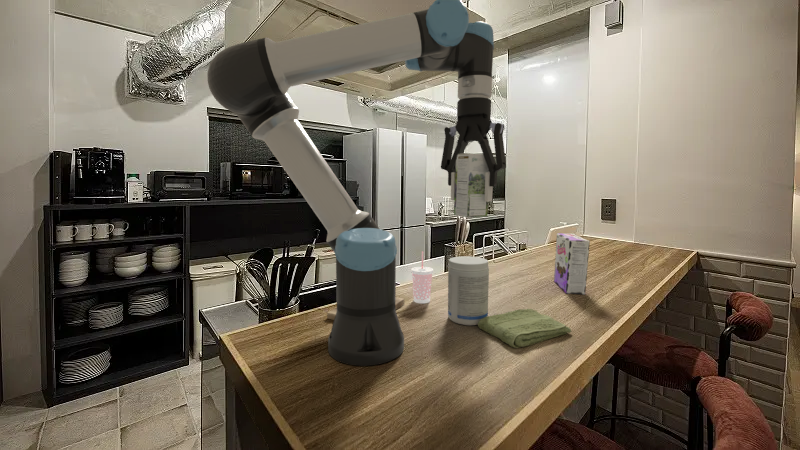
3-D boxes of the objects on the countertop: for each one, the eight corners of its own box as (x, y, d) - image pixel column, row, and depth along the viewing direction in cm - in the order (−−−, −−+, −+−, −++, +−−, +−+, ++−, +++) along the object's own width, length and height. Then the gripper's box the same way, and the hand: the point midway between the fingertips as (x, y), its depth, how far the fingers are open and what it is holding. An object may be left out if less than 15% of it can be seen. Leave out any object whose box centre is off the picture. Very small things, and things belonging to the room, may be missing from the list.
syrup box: (473, 214, 90) (475, 154, 88) (488, 217, 85) (490, 153, 83) (453, 215, 88) (455, 153, 86) (467, 217, 82) (469, 152, 81)
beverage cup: (413, 296, 106) (414, 248, 104) (434, 298, 105) (435, 249, 103) (408, 303, 100) (409, 252, 99) (430, 305, 99) (431, 254, 97)
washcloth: (574, 335, 81) (575, 322, 81) (515, 353, 73) (516, 337, 73) (528, 316, 93) (529, 303, 92) (473, 329, 85) (473, 315, 84)
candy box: (553, 281, 123) (556, 232, 121) (571, 282, 122) (574, 233, 120) (565, 293, 109) (569, 239, 107) (586, 294, 109) (590, 240, 107)
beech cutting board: (369, 327, 84) (369, 321, 83) (327, 318, 89) (327, 312, 89) (404, 304, 100) (404, 298, 99) (366, 297, 105) (366, 292, 105)
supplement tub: (495, 319, 89) (497, 260, 87) (472, 330, 83) (474, 266, 81) (462, 309, 96) (464, 254, 94) (439, 318, 90) (440, 259, 88)
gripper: (426, 101, 86) (424, 199, 88) (514, 90, 74) (509, 203, 77) (441, 106, 92) (440, 198, 95) (525, 96, 80) (520, 201, 83)
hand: (471, 200), depth 86 cm, fingers closed on syrup box, 8 cm apart
